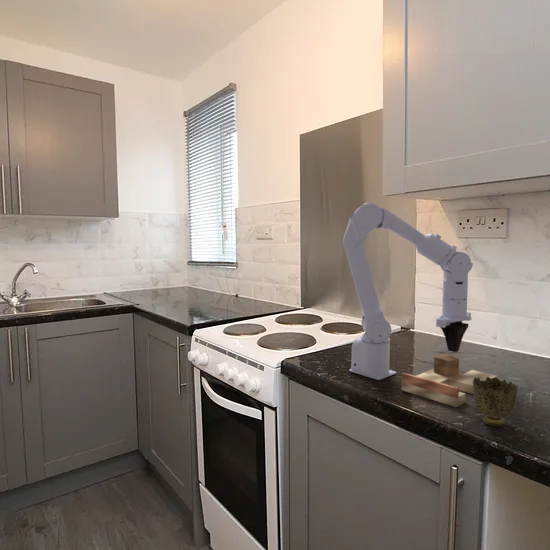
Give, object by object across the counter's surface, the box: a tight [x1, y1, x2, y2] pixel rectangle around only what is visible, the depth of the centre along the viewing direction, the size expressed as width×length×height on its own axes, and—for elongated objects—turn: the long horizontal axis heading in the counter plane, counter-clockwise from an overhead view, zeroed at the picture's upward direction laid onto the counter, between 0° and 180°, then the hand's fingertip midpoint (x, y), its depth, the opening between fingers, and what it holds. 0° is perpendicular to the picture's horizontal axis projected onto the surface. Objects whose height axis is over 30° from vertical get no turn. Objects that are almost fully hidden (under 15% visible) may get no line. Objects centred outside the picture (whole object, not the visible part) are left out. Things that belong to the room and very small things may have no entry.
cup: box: [473, 376, 518, 427], centre depth 76 cm, size 8×7×8 cm
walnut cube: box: [433, 354, 460, 377], centre depth 99 cm, size 4×4×4 cm
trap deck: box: [401, 368, 498, 408], centre depth 96 cm, size 13×21×4 cm, turn 130°
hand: (453, 351), depth 103 cm, fingers closed
